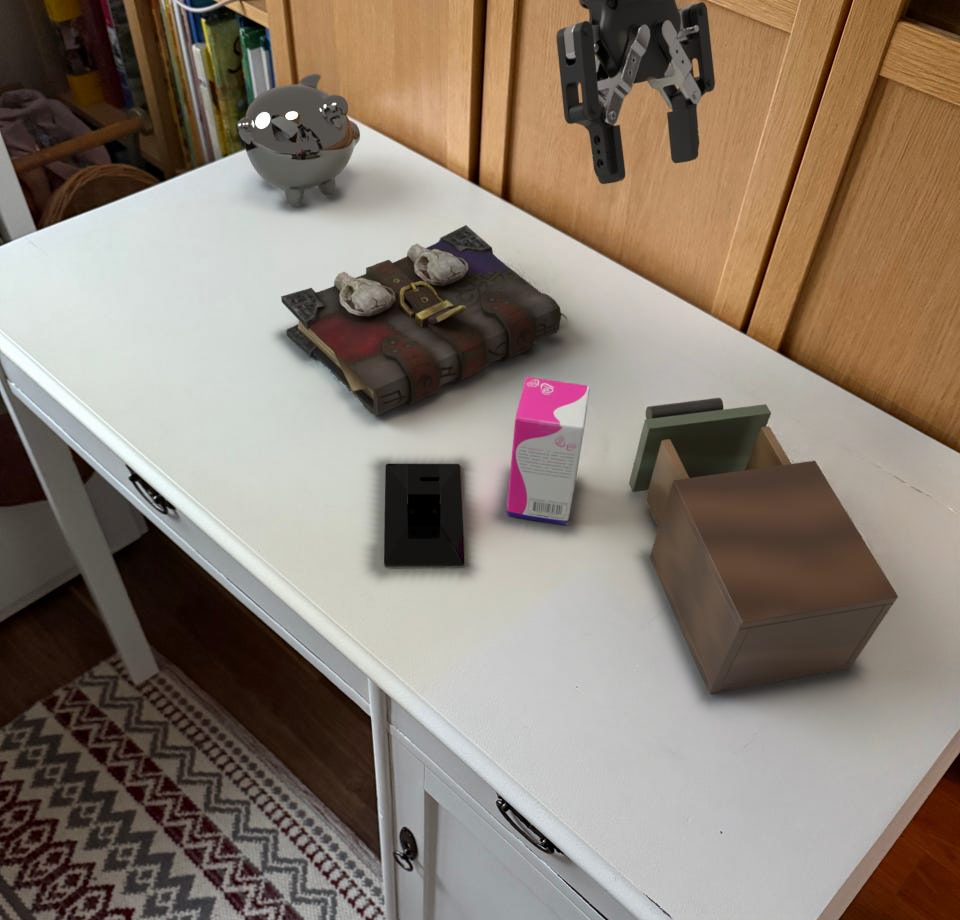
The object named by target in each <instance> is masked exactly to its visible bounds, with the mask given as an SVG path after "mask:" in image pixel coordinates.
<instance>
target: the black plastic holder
mask: <svg viewBox="0 0 960 920" xmlns="http://www.w3.org/2000/svg"><path fill="white" fill-rule="evenodd" d="M384 471H385V476H384V477H385V478H384V479H385V481H384V483H385V484H384V530H383V531H384V532H383V533H384V537H383V545H382V546H381V547H380V562H381V563H382V565H383V566H384V568H464V567H465V566H466V559H465V540H464V517H463V495H462V494H463V493H462V475H461V474H462V473H461V465H460V464H459V463H386V464H385V470H384Z"/></svg>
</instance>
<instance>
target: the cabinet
mask: <svg viewBox="0 0 960 920" xmlns="http://www.w3.org/2000/svg"><path fill="white" fill-rule="evenodd" d="M657 528H658V527H657ZM649 559H650V561H651V563H652V565H653V568H654V570H655V572H656V575H657V578H658V579H659V582H660V584H661V586H662V589H663V591H664V593H665V596H666V598H667V600H668V602H669V604H670V607H671V609H672V611H673V613H674V616H675V618H676V621H677V623H678V625H679V627H680V630H681V632H682V634H683V636H684V639H685V641H686V643H687V646H688V648H689V651H690V653H691V655H692V657H693V659H694V661H695V664H696V666H697V668H698V671H699V673H700V676H701V679H702V680H703V682H704V684H705V687H706V689H707V691H708V694H715V693H720V692H725V691H732V690H736V689H741V688H747V687H752V686H759V685H763V684H769V683H774V682H780V681H785V680H791V679H796V678H803V677H807V676H813V675H818V674H825V673H829V672H836V671H841V670H846V669H851V668H852V667H853V665H854V664H855V662H856V661H857V659H858V657H859V656H860V655H861V653H862V652H863V650H864V649H865V647H866V645H867V644H868V643H869V641H870V640H871V638H872V637H873V636H874V634H875V633H876V631H877V630H878V628H879V627H880V625H881V624H882V622H883V621H884V619H885V617H886V616H887V614H888V613H889V611H890V610H891V609H892V607H893V605H894V603H896V601H897V600H898V598H899V595H898V593H897V592H896V590H895V588H894V587H893V586H892V584H891V582H890V581H889V579H888V577H887V576H886V574H885V572H884V571H883V569H882V568H881V566H880V563H878V561H877V559H876V558H875V556H874V555H873V553H872V551H871V550H870V547H868V545H867V543H866V541H865V540H864V539H863V536H862V535H861V533H860V532H859V530H858V527H856V525H855V523H854V522H853V520H852V518H851V517H850V515H849V513H848V512H847V511H846V508H845V507H844V505H843V504H842V502H841V501H840V499H839V497H838V495H837V494H836V493H835V490H834V489H833V488H832V486H831V485H830V483H829V481H828V479H827V477H826V476H825V474H824V473H823V471H822V470H821V468H820V466H819V465H818V463H817V461H816V460H810V461H803V462H794V463H791V464H787V465H780V466H773V467H766V468H758V469H751V470H744V471H737V472H730V473H722V474H715V475H708V476H701V477H694V478H686V479H679V480H674V481H673V483H672V486H671V489H670V492H669V495H668V499H667V502H666V505H665V509H664V512H663V515H662V518H661V522H660V525H659V528H658V529H657V532H656V535H655V539H654V542H653V545H652V547H651V551H650V555H649Z"/></svg>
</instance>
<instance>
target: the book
mask: <svg viewBox="0 0 960 920" xmlns="http://www.w3.org/2000/svg"><path fill="white" fill-rule="evenodd" d="M280 299H281V303H282V304H283V306H285V307H286V308H287V310H288V311H289V312H290V313H291V314H292V315H293V316H294V317H295V318H296V319H297V320H298V323H297V324H296V325H293V326H292V327H289V328H287V329H285V333H286V336H287V337H288V338H289V339H290V340H291V341H292V342H293V343H295V345H297V347H298V348H300V349H301V350H302V351H303V352H304V354H306V355H308V357H312V356H314V357H315V358H316V359H318V360H319V362H321V364H323V365H324V366H325V367H326V368H327V369H328V370H329V371H330V372H331V373H332V374H333V375H334V376H335V377H336V378H337V379H338V380H339V381H340V382H341V383H342V384H343V385H344V386H345V387H346V388H347V389H348V390H349V391H350V392H351V393H352V394H353V395H354V396H355V397H356V398H358V400H359V401H360V403H361V404H362V405H363V407H364V408H365V409H366V410H367V411H368V412H369V413H370V414H372V415H373V416H378V415H381V414H383V413H385V412H388V411H390V410H391V409H394V408H396V407H398V406H400V405H403V404H404V405H407V406H410V405H413V404H415V403H417V402H419V401H421V400H423V399H426V398H428V397H430V396H431V395H434V394H436V393H437V392H438V391H439V390H440V389H441V387H442V386H444V385H445V384H449V383H451V382H452V381H455V382H457V383H458V382H460V381H463V380H465V379H466V378H469V377H471V376H473V375H475V374H478V373H480V372H482V371H483V370H484V369H485V368H486V367H487V365H490V364H492V363H493V362H496V361H498V360H502V361H507V360H510V359H511V358H514V357H515V356H518V355H520V354H523V353H524V352H527V351H529V350H531V349H532V348H533V347H534V345H535V343H537V342H540V341H542V340H544V339H546V338H548V337H551V336H553V335H555V334H556V333H558V332H559V331H560V329H561V328H560V327H561V320H562V316H563V317H564V318H565V319H566V321H568V319H567V316H565V314H564V313H562V312H561V308H560V305H559V304H558V303H557V301H556V300H555V299H554V298H553V297H551V296H550V295H549V294H546V293H543V292H541V291H540V290H539V289H537V288H536V287H535V286H534V285H532V284H531V283H529V282H528V281H527V280H526V279H524V278H523V277H522V276H521V275H520V274H518V273H517V272H515V271H514V270H513V269H512V268H511V267H510V266H508V265H507V264H506V263H504V262H503V261H502V260H501V259H499V258H498V257H497V255H495V254H494V252H493V247H492V246H491V245H490V244H488V242H486V240H484V239H483V238H482V237H480V235H478V234H477V233H476V232H475V231H473V230H472V229H471V228H470V227H469V226H468V225H466V224H465V225H463V226H461V227H459V228H457V229H455V230H453V231H451V232H449V233H447V234H445V235H443V236H441V237H439V240H438V241H437V242H436V243H433V244H431V245H429V246H427V247H424V246H421V244H419V243H415V244H412V245H411V246H410V247H409V249H408V250H407V252H406V256H404V257H402V258H400V259H398V260H396V261H393V262H392V261H391V260H390V259H386V260H382V261H381V262H379V263H375V264H373V265H370V266H368V267H365V274H364V273H363V274H361V275H358V276H356V277H354V276H352V275H350V274H348V273H347V272H346V271H342V272H340V273H337V276H335V278H334V281H333V286H331V287H328V288H325V289H323V290H321V291H315V290H314V289H313V287H309V288H305V289H302V290H299V291H295V292H291V293H288V294H285V295H282V296H280Z"/></svg>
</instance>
